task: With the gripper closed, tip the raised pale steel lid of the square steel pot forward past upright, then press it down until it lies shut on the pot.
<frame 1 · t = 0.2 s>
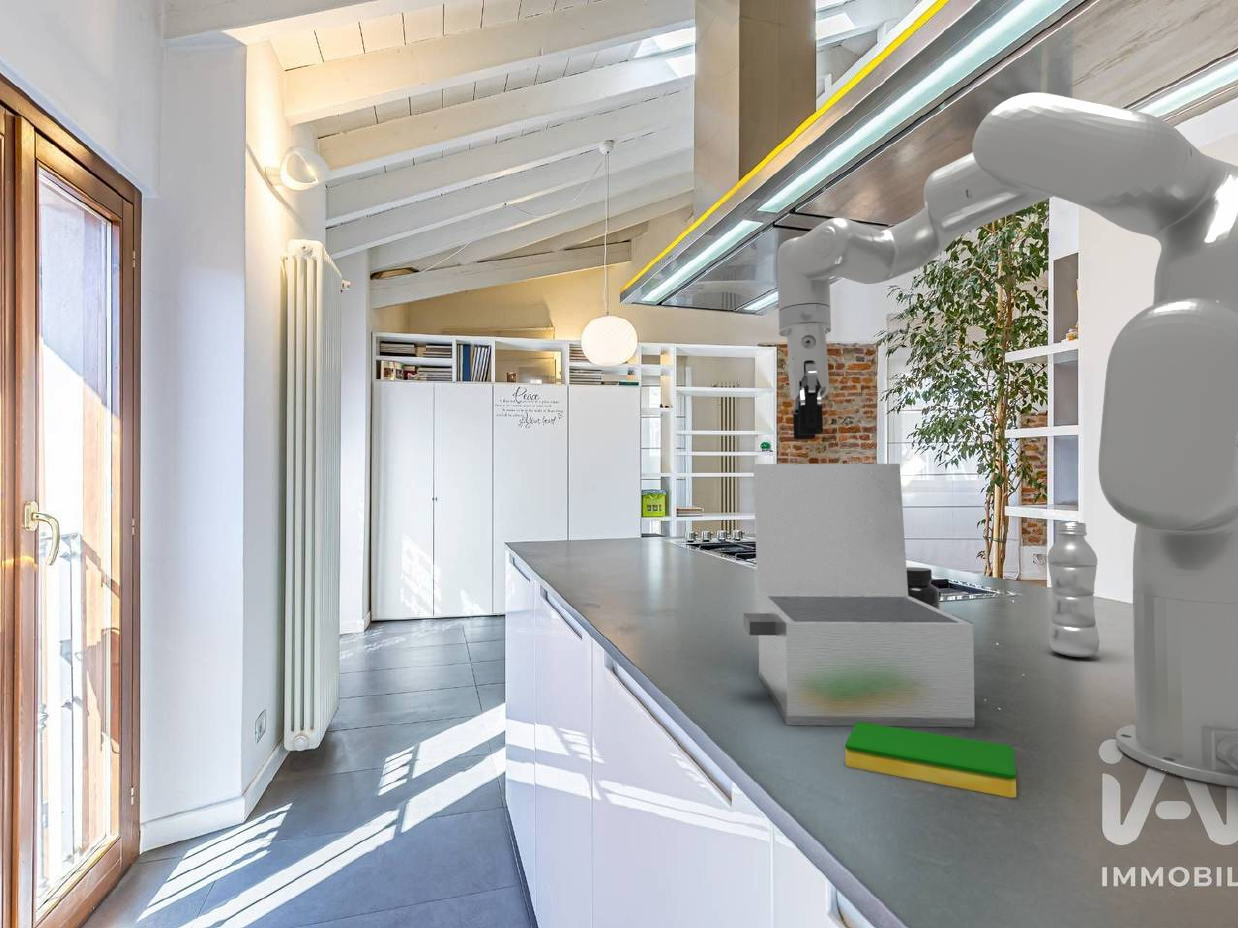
hand: (807, 436, 100), 33 cm above the counter, tool pointing down, fingers open, 9 cm apart
plastic bottle: (1073, 657, 101), on the counter
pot: (854, 698, 82), on the counter
supplement bottle: (917, 643, 110), on the counter
lid: (827, 529, 94), point 20 cm above the counter, hinge at 98.0°
dish sponge: (928, 772, 63), on the counter
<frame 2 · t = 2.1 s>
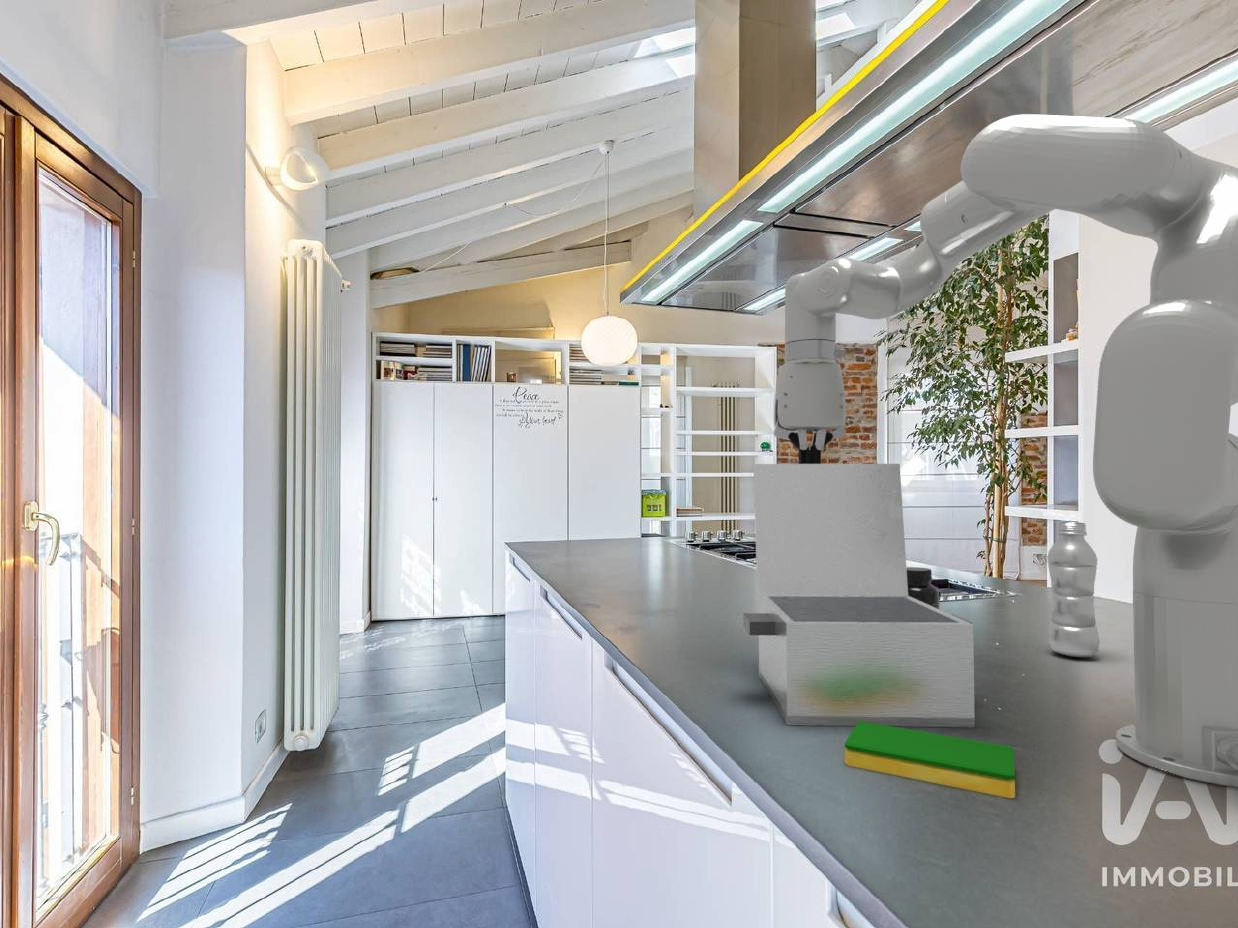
hand: (809, 476, 103), 27 cm above the counter, tool pointing down, fingers closed
nothing on the counter moved.
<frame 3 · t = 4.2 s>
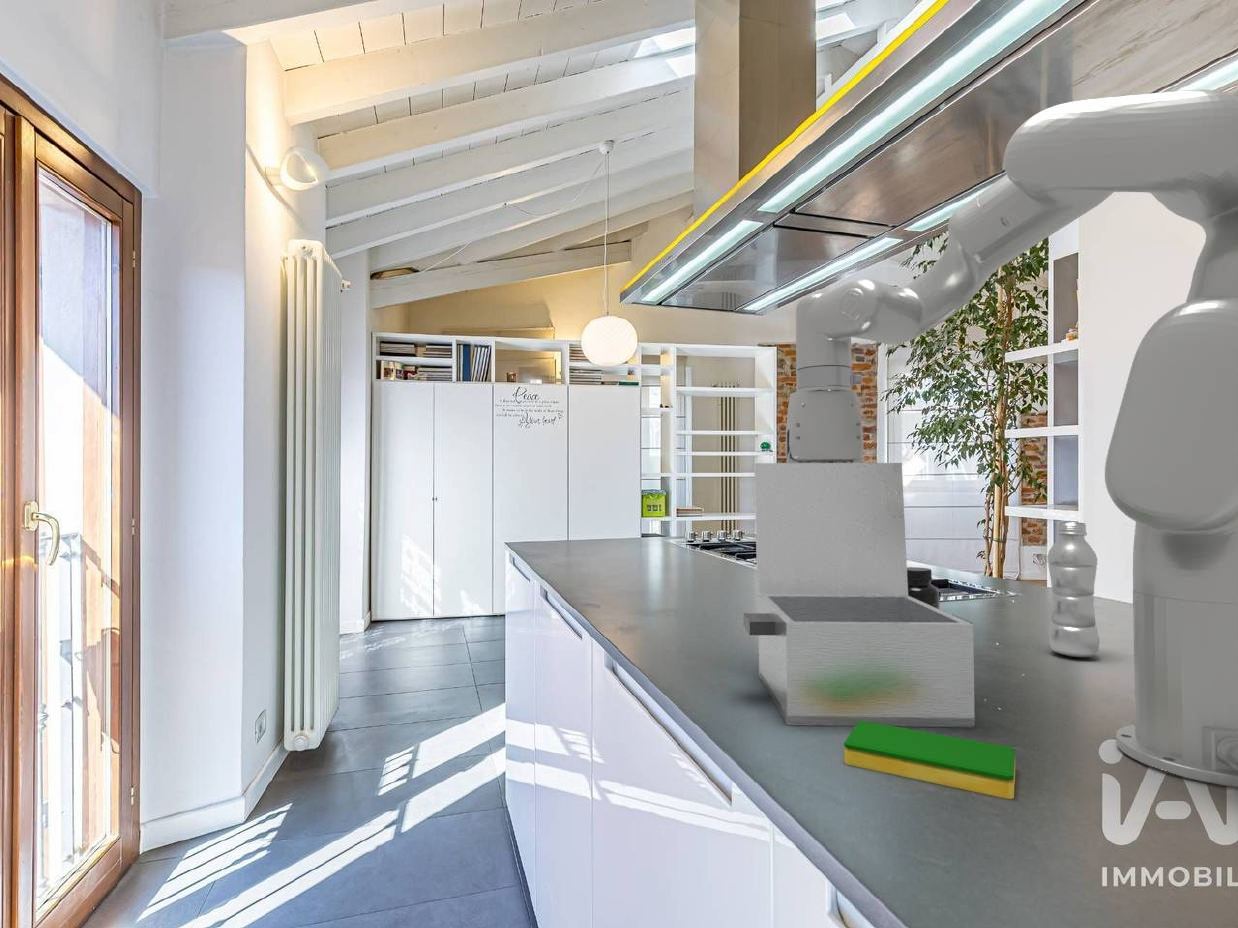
hand: (824, 512, 95), 22 cm above the counter, tool pointing down, fingers closed
lid: (827, 528, 94), point 20 cm above the counter, hinge at 95.5°, touching gripper
everything else where it was.
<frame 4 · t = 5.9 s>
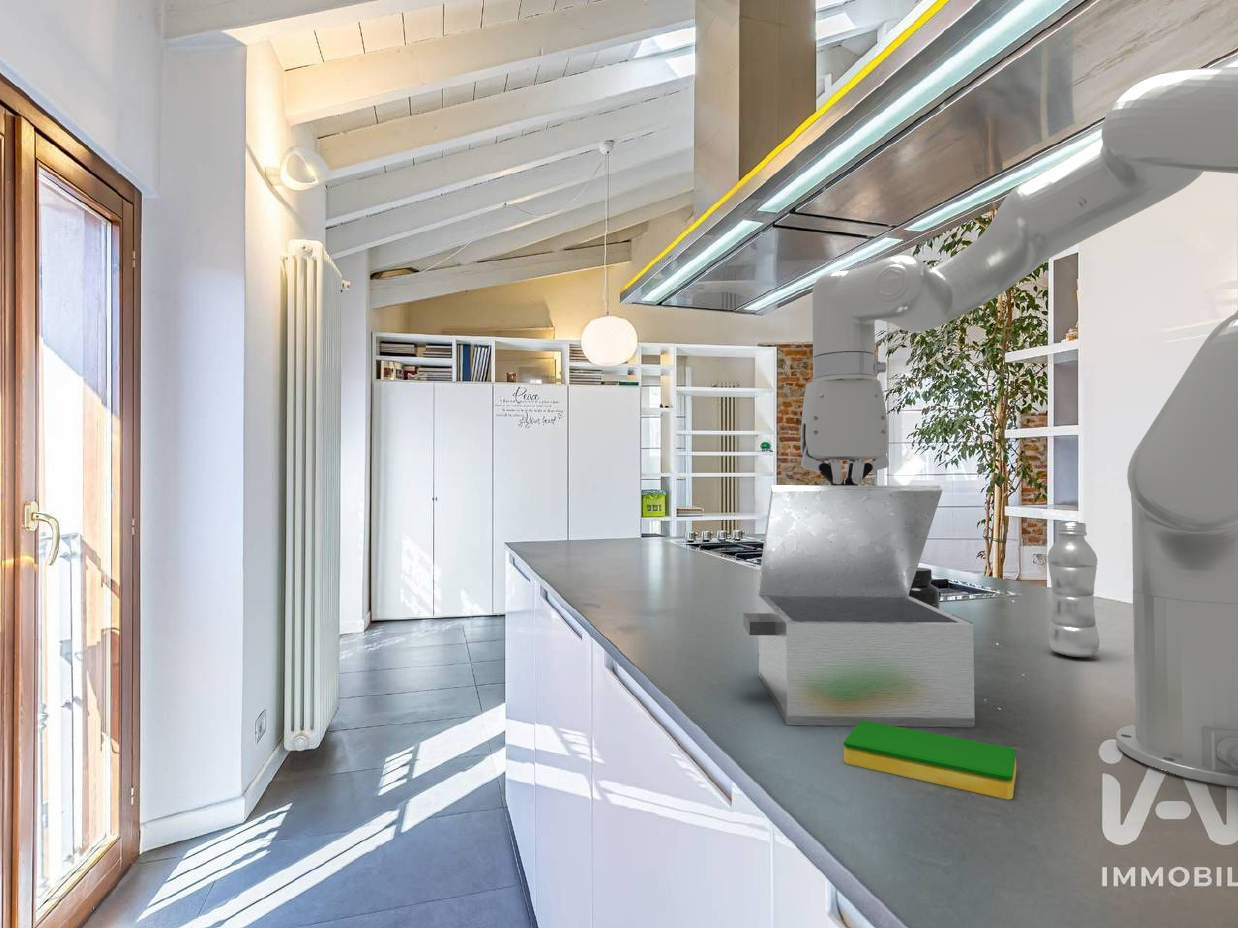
hand: (844, 515, 86), 22 cm above the counter, tool pointing down, fingers closed
lid: (841, 538, 87), point 19 cm above the counter, hinge at 52.8°
everything else where it was.
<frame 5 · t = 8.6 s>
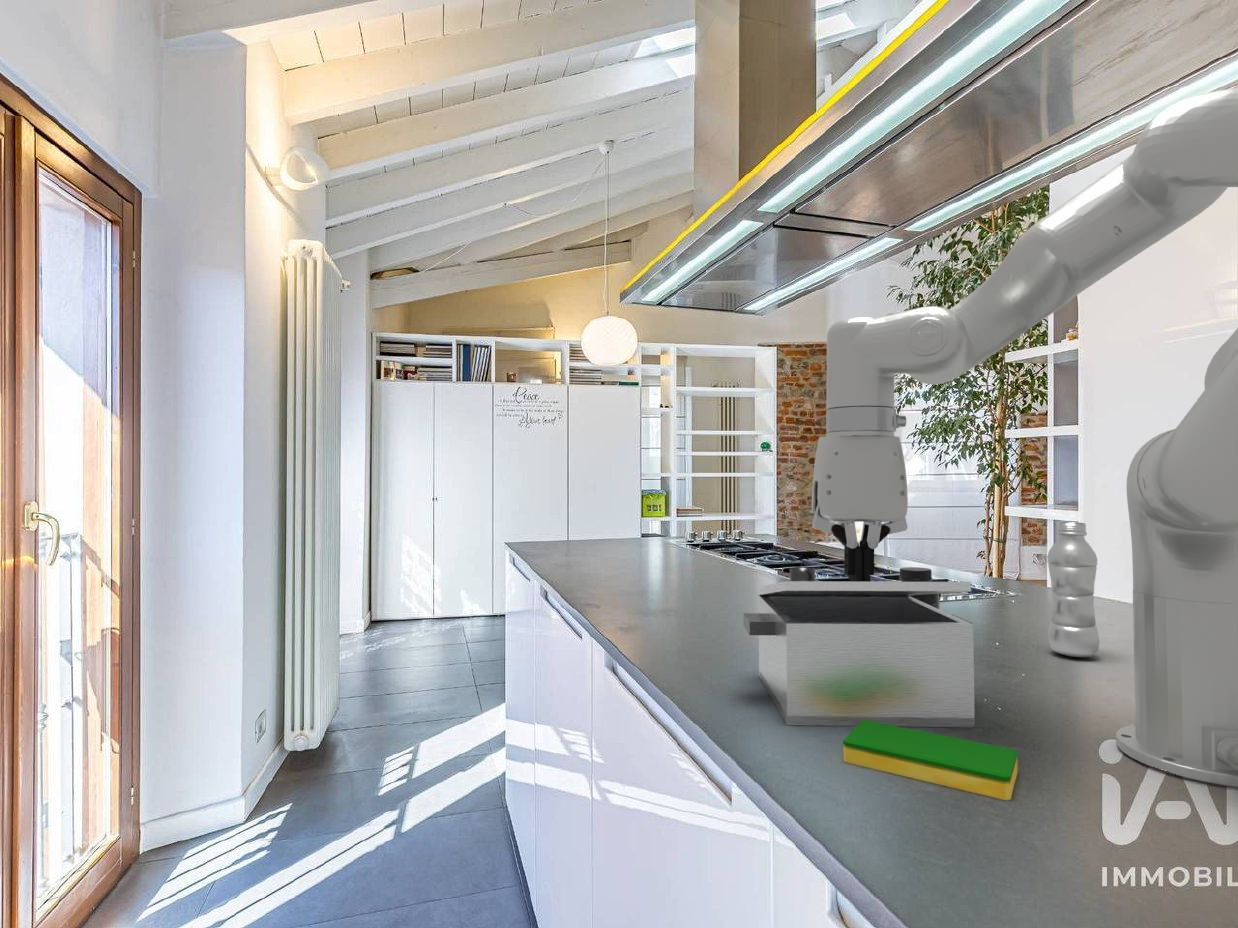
hand: (859, 581, 79), 15 cm above the counter, tool pointing down, fingers closed
lid: (852, 580, 83), point 14 cm above the counter, hinge at 11.3°
everything else where it was.
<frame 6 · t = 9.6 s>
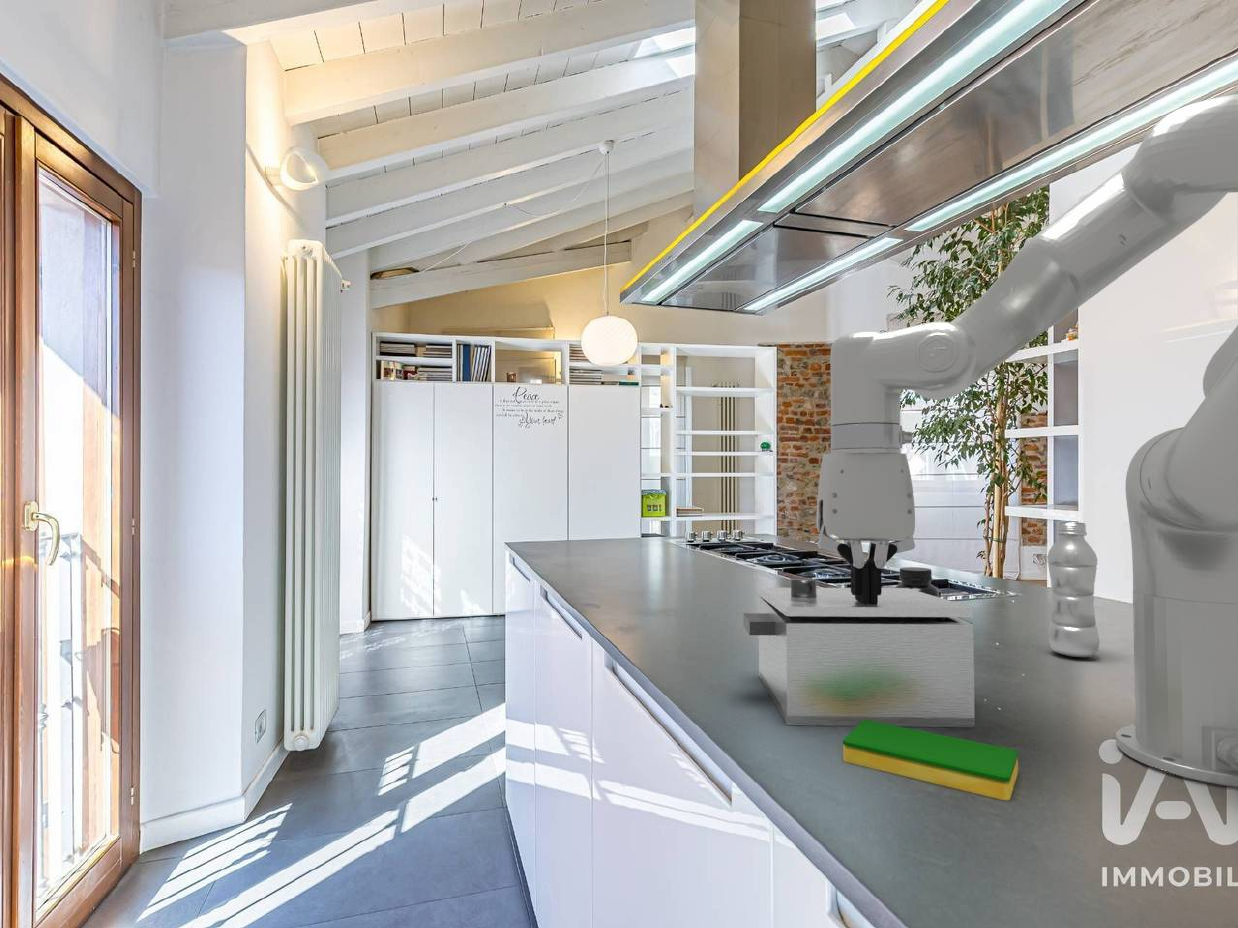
hand: (866, 601, 77), 13 cm above the counter, tool pointing down, fingers closed
lid: (853, 592, 82), point 13 cm above the counter, hinge at 2.5°, touching gripper
everything else where it was.
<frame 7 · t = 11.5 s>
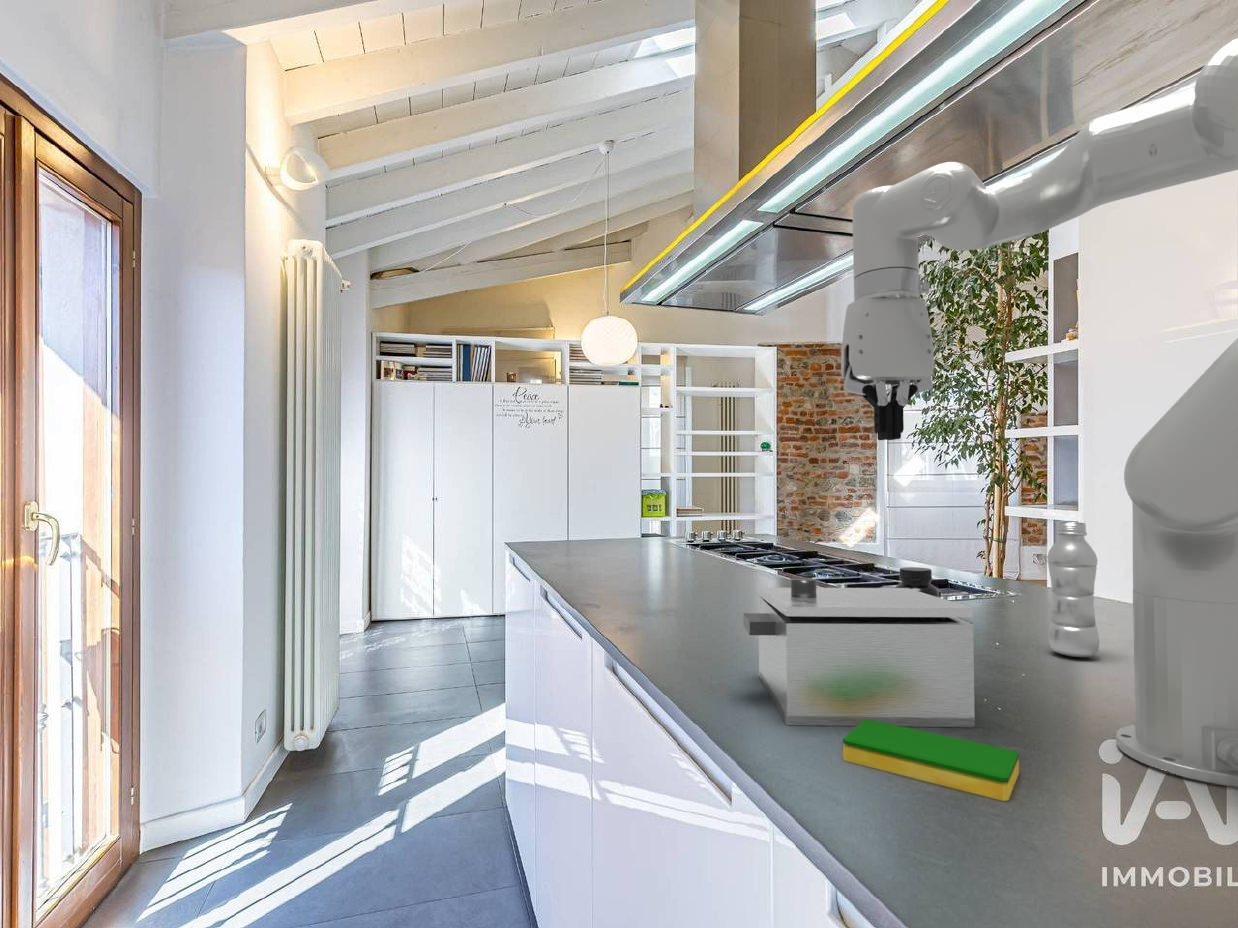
hand: (889, 439, 83), 32 cm above the counter, tool pointing down, fingers closed
lid: (853, 592, 82), point 13 cm above the counter, hinge at 2.5°
everything else where it was.
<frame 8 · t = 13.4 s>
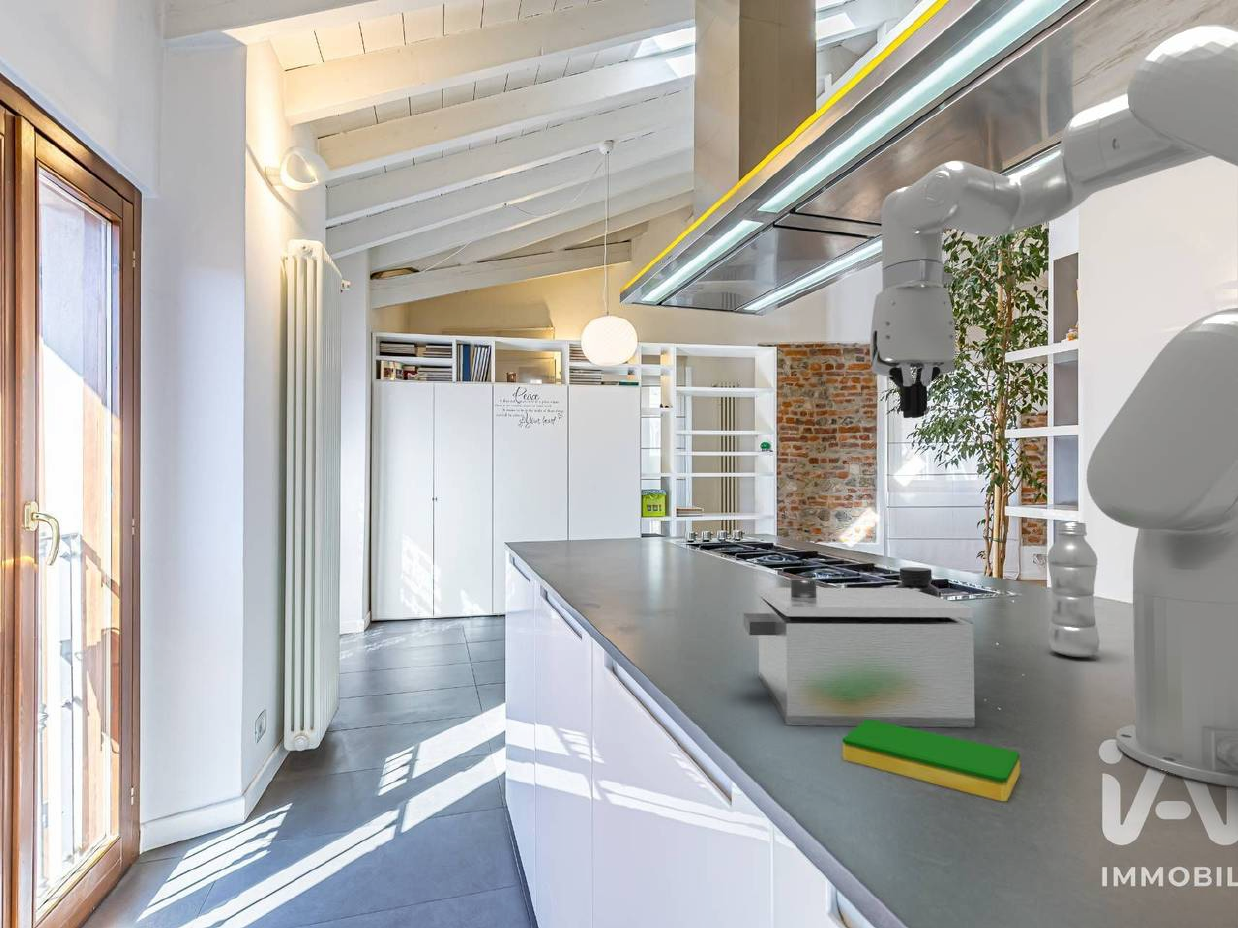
hand: (913, 416, 91), 35 cm above the counter, tool pointing down, fingers closed
nothing on the counter moved.
at the end: lid at +2° (first picture: +98°) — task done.
